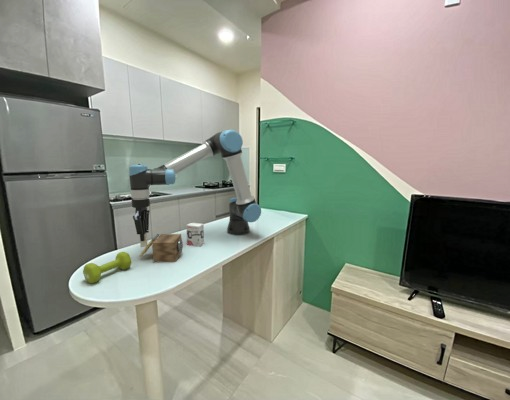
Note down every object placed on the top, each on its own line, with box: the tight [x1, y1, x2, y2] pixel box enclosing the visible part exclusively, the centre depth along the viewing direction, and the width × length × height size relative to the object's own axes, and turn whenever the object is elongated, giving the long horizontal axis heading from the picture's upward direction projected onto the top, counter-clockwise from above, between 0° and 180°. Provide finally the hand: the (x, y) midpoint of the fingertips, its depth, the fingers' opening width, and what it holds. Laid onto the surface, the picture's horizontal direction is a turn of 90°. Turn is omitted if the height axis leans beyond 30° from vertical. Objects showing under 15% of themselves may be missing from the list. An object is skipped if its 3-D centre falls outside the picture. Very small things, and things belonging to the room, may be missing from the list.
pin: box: [177, 239, 183, 252], centre depth 108 cm, size 12×6×6 cm, turn 94°
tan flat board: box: [138, 233, 160, 258], centre depth 108 cm, size 11×7×1 cm
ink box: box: [185, 222, 205, 247], centre depth 125 cm, size 8×5×12 cm, turn 73°
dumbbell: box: [82, 251, 133, 284], centre depth 91 cm, size 16×8×7 cm, turn 151°
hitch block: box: [151, 233, 183, 263], centre depth 108 cm, size 10×12×10 cm
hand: (144, 246), depth 107 cm, fingers closed
